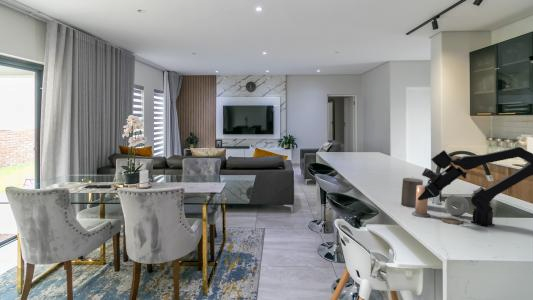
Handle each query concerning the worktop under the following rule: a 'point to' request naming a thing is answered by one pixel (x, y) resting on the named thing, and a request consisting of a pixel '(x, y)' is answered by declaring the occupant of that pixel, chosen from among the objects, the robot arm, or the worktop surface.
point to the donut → (456, 211)
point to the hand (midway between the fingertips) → (419, 197)
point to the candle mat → (420, 215)
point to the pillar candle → (410, 191)
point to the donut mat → (451, 220)
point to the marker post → (421, 201)
